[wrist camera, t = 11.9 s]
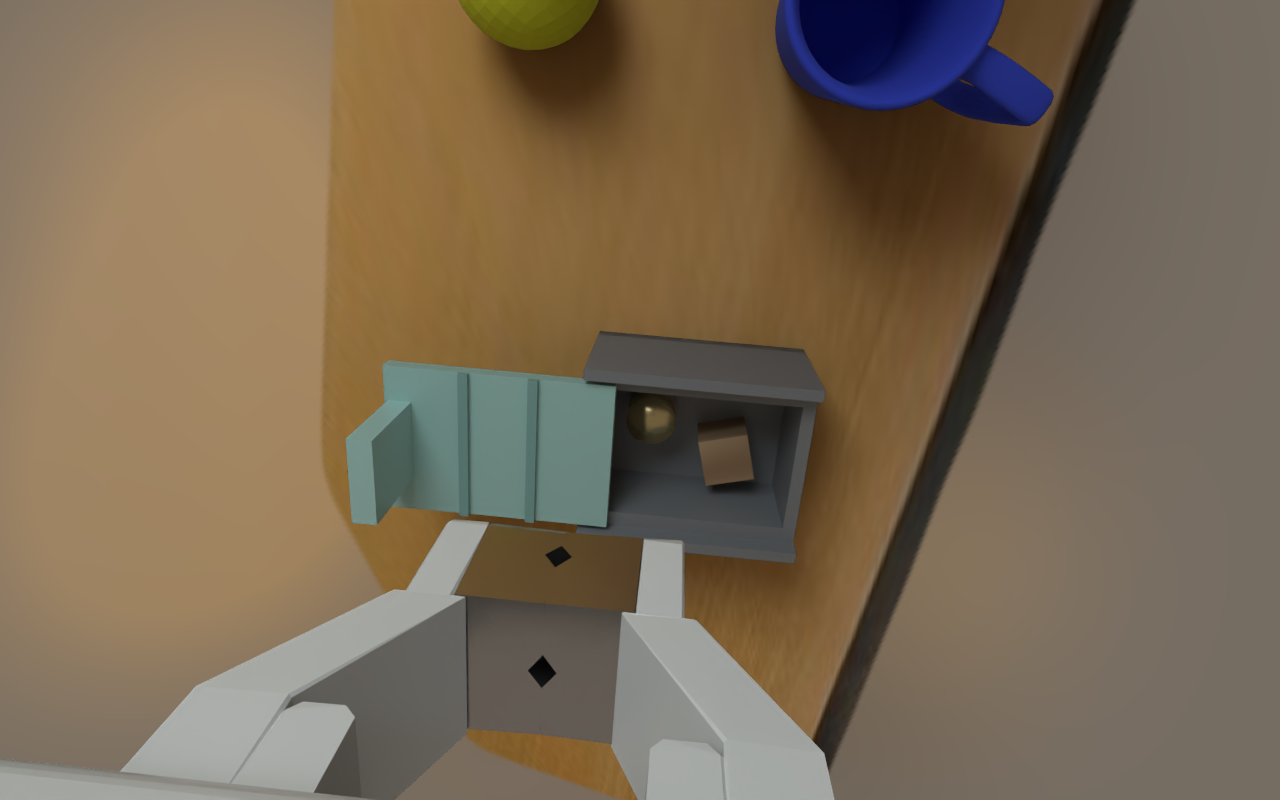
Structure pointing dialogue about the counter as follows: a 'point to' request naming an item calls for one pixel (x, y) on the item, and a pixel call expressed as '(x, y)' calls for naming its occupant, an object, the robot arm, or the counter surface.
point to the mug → (907, 57)
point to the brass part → (651, 417)
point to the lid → (485, 445)
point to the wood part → (725, 451)
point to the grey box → (672, 470)
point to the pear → (530, 20)
